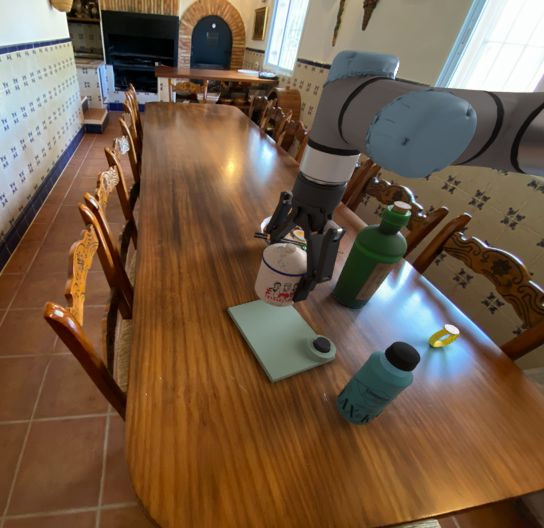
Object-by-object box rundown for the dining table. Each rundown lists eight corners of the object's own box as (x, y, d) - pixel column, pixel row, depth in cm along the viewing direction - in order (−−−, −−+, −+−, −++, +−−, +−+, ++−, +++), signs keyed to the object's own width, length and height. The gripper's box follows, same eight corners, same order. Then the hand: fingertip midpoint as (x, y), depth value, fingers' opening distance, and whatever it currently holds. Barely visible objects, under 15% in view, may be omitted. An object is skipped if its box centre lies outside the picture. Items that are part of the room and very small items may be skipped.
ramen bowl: (329, 241, 101) (338, 220, 96) (334, 284, 84) (346, 262, 79) (256, 225, 105) (261, 205, 100) (247, 264, 88) (252, 241, 83)
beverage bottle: (329, 391, 59) (376, 328, 46) (364, 399, 58) (421, 337, 45) (334, 425, 54) (389, 365, 41) (373, 434, 53) (440, 376, 40)
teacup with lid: (260, 309, 56) (275, 262, 49) (248, 277, 63) (259, 231, 56) (319, 307, 58) (342, 261, 50) (301, 276, 65) (319, 231, 57)
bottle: (371, 317, 75) (437, 223, 57) (327, 304, 77) (377, 210, 60) (368, 290, 83) (425, 200, 65) (328, 279, 85) (372, 189, 68)
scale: (336, 361, 64) (342, 353, 62) (273, 385, 59) (276, 377, 57) (282, 296, 79) (285, 288, 77) (227, 311, 73) (229, 302, 71)
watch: (442, 338, 71) (458, 322, 68) (452, 348, 69) (469, 332, 65) (421, 341, 70) (436, 325, 67) (430, 351, 68) (446, 335, 64)
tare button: (331, 350, 63) (333, 346, 62) (320, 354, 62) (322, 350, 61) (321, 339, 65) (324, 335, 64) (310, 343, 64) (313, 338, 63)
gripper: (401, 206, 39) (336, 318, 53) (298, 149, 54) (269, 248, 68) (359, 213, 36) (302, 329, 51) (264, 152, 52) (241, 254, 66)
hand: (283, 282), depth 59 cm, fingers closed on teacup with lid, 9 cm apart
